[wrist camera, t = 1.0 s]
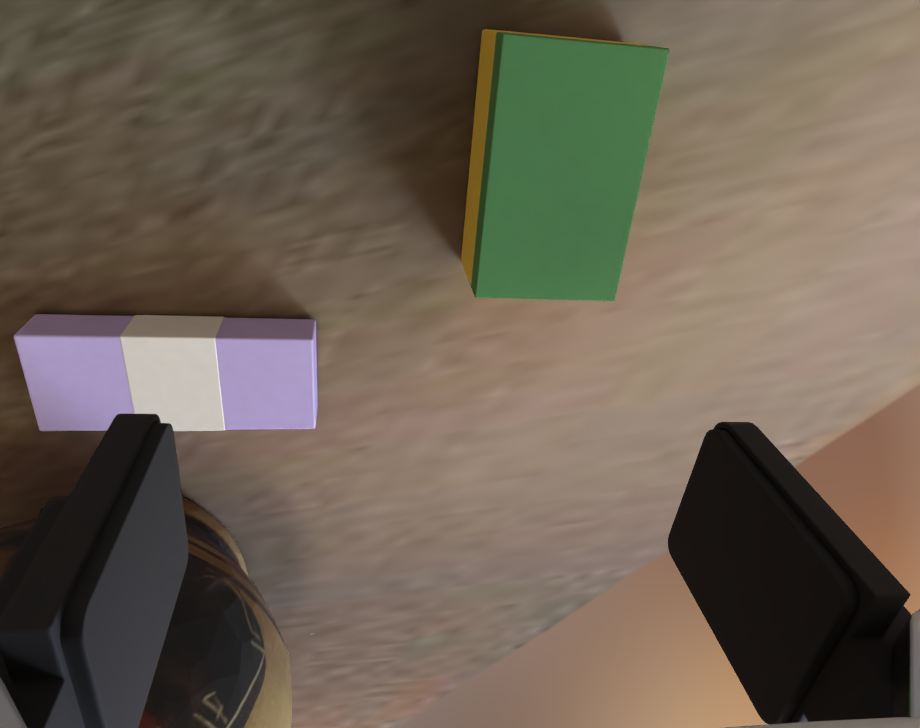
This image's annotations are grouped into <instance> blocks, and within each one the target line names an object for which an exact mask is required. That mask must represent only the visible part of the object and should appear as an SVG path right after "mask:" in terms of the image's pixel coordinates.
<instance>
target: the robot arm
mask: <svg viewBox="0 0 920 728" xmlns="http://www.w3.org/2000/svg"><path fill="white" fill-rule="evenodd" d="M668 548H669V552H670V555H671V557H672V559H673V560H674V562H675V564H676V566H677V568H678V570H679V571H680V573H681V575H682V577H683V579H684V580H685V582H686V584H687V586H688V588H689V589H690V591H691V593H692V595H693V597H694V598H695V600H696V602H697V604H698V606H699V607H700V609H701V611H702V613H703V615H704V617H705V618H706V620H707V622H708V624H709V626H710V627H711V629H712V631H713V633H714V634H715V636H716V638H717V640H718V642H719V644H720V646H721V647H722V649H723V651H724V653H725V654H726V656H727V658H728V660H729V661H730V664H731V665H732V667H733V669H734V671H735V673H736V674H737V676H738V678H739V680H740V682H741V683H742V685H743V687H744V689H745V691H746V692H747V694H748V696H749V698H750V700H751V701H752V703H753V705H754V707H755V709H756V710H757V712H758V714H759V716H760V717H761V719H762V720H763V721H764V722H765V723H767V724H769V725H756V726H741V727H727V728H920V609H919V610H918V611H916V612H915V613H913V614H912V615H911V614H910V613H909V612H908V611H907V609H906V608H905V607H904V606H903V605H904V604H905V602H906V601H907V599H908V598H909V596H910V594H909V593H908V591H907V590H906V589H905V588H904V587H903V586H902V585H901V584H900V583H899V582H898V580H897V579H896V578H895V577H894V576H893V575H892V574H891V573H890V572H889V571H888V569H887V568H885V566H884V565H883V564H882V563H881V562H880V561H879V560H878V559H877V558H876V556H875V555H874V554H873V553H872V552H871V551H870V550H869V549H868V548H867V547H866V546H865V544H864V543H863V542H862V541H861V540H860V539H859V538H858V537H857V536H856V535H855V533H854V532H853V531H852V530H851V529H850V528H849V527H848V526H847V525H846V524H845V522H844V521H843V520H842V519H841V518H840V517H839V516H838V515H837V514H836V513H835V512H834V510H833V509H831V507H830V506H829V505H828V504H827V503H826V502H825V501H824V500H823V498H822V497H821V496H820V495H819V494H818V493H817V492H816V491H815V490H814V489H813V488H812V486H811V485H810V484H809V483H808V482H807V481H806V480H805V479H804V478H803V477H802V476H801V474H800V473H799V472H798V471H797V470H796V469H795V468H794V467H793V466H792V465H791V463H790V462H789V461H788V460H787V459H786V458H785V457H784V456H783V455H782V454H781V453H780V451H779V450H778V449H777V448H776V447H775V446H774V445H773V444H772V443H771V442H770V441H769V439H768V438H767V437H766V436H765V435H764V434H763V433H762V432H761V431H760V430H759V429H758V427H757V426H755V425H754V424H753V423H749V422H721V423H718V424H717V425H716V426H715V427H714V429H713V430H709V431H708V432H707V433H706V435H705V437H704V440H703V443H702V446H701V448H700V451H699V454H698V457H697V459H696V462H695V465H694V468H693V470H692V473H691V476H690V479H689V481H688V484H687V487H686V490H685V492H684V495H683V498H682V501H681V503H680V506H679V509H678V512H677V514H676V517H675V520H674V523H673V525H672V528H671V531H670V534H669V537H668ZM187 561H188V539H187V531H186V524H185V516H184V508H183V501H182V493H181V486H180V478H179V470H178V463H177V455H176V448H175V440H174V433H173V427H172V425H171V424H170V423H161V421H160V418H159V416H158V415H157V414H117V415H116V417H115V418H114V420H113V421H112V423H111V425H110V427H109V428H108V430H107V432H106V434H105V435H104V437H103V439H102V441H101V442H100V444H99V446H98V447H97V449H96V451H95V453H94V454H93V456H92V458H91V460H90V461H89V463H88V465H87V467H86V468H85V470H84V472H83V474H82V475H81V477H80V479H79V481H78V482H77V484H76V486H75V488H74V489H73V491H72V493H71V495H70V496H69V497H55V498H53V499H52V500H50V501H49V502H48V503H47V505H46V506H45V507H44V508H43V510H42V512H41V513H40V515H39V517H38V518H37V520H36V521H35V523H34V525H33V526H32V528H31V530H30V531H29V533H28V535H27V536H26V538H25V539H24V541H23V543H22V544H21V546H20V548H19V549H18V551H17V553H16V554H15V556H14V558H13V559H12V561H11V562H10V564H9V566H8V567H7V569H6V571H5V572H4V574H3V576H2V577H1V579H0V728H138V727H139V723H140V720H141V717H142V713H143V710H144V707H145V703H146V700H147V697H148V693H149V690H150V687H151V683H152V680H153V677H154V673H155V670H156V667H157V663H158V660H159V657H160V653H161V650H162V647H163V643H164V640H165V637H166V633H167V630H168V627H169V623H170V620H171V617H172V613H173V610H174V607H175V603H176V600H177V597H178V593H179V590H180V587H181V583H182V580H183V577H184V573H185V570H186V566H187Z"/></svg>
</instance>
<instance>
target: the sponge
mask: <svg viewBox="0 0 920 728" xmlns="http://www.w3.org/2000/svg"><path fill="white" fill-rule="evenodd" d="M668 54H669V49H668V48H661V47H653V46H647V45H640V44H633V43H626V42H617V41H606V40H596V39H585V38H574V37H564V36H553V35H543V34H532V33H522V32H511V31H501V30H490V29H483V31H482V37H481V47H480V58H479V69H478V80H477V91H476V102H475V113H474V124H473V135H472V146H471V157H470V168H469V179H468V190H467V201H466V212H465V223H464V234H463V245H462V256H461V262H462V265H463V267H464V270H465V272H466V275H467V277H468V280H469V282H470V284H471V288H472V291H473V293H474V295H475V297H476V298H509V299H549V300H589V301H615V297H616V292H617V288H618V283H619V278H620V274H621V269H622V265H623V260H624V256H625V251H626V246H627V242H628V237H629V233H630V228H631V224H632V219H633V214H634V210H635V205H636V201H637V196H638V192H639V187H640V182H641V178H642V173H643V169H644V164H645V160H646V155H647V150H648V146H649V141H650V137H651V132H652V128H653V123H654V118H655V114H656V109H657V105H658V100H659V96H660V91H661V86H662V82H663V77H664V73H665V68H666V64H667V59H668Z"/></svg>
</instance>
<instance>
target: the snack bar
mask: <svg viewBox="0 0 920 728" xmlns="http://www.w3.org/2000/svg"><path fill="white" fill-rule="evenodd" d="M14 340H15V344H16V347H17V351H18V355H19V358H20V362H21V365H22V369H23V373H24V376H25V380H26V384H27V387H28V391H29V394H30V398H31V402H32V405H33V409H34V412H35V416H36V420H37V423H38V427H39V430H40V431H107V430H108V428H109V427H110V425H111V423H112V421H113V420H114V418H115V417H116V415H117V414H157V415H158V416H159V418H160V421H161V423H170V424H171V425H172V427H173V431H224V430H231V429H314V428H315V427H316V417H317V407H318V395H317V354H316V321H315V320H314V319H270V318H224V317H218V316H165V315H135V316H110V315H57V314H36V315H34V316H33V317H32V318H31V319H30V320H29V321H28V322H27V323H26V324H25V325H24V326H23V327H22V328H21V329H20V330H19V331H17V332H16V333H15V334H14Z"/></svg>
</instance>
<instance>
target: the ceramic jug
mask: <svg viewBox="0 0 920 728" xmlns="http://www.w3.org/2000/svg"><path fill="white" fill-rule="evenodd" d="M182 501H183V508H184V516H185V524H186V531H187V539H188V561H187V566H186V570H185V573H184V577H183V580H182V583H181V587H180V590H179V593H178V597H177V600H176V603H175V607H174V610H173V613H172V617H171V620H170V623H169V627H168V630H167V633H166V637H165V640H164V643H163V647H162V650H161V653H160V657H159V660H158V663H157V667H156V670H155V673H154V677H153V680H152V683H151V687H150V690H149V693H148V697H147V700H146V703H145V707H144V710H143V713H142V717H141V720H140V723H139V727H138V728H291V721H292V690H291V673H290V658H289V654H288V650H287V647H286V645H285V643H284V640H283V638H282V636H281V634H280V632H279V630H278V627H277V625H276V622H275V620H274V618H273V616H272V614H271V612H270V610H269V608H268V606H267V604H266V603H265V601H264V599H263V598H262V596H261V594H260V592H259V591H258V589H257V588H256V586H255V584H254V583H253V582H252V580H251V579H250V578H249V575H248V572H247V568H246V565H245V562H244V560H243V557H242V554H241V552H240V550H239V547H238V545H237V543H236V541H235V539H234V537H233V536H232V535H231V533H230V532H229V530H228V529H227V528H226V527H225V526H223V525H222V524H221V523H219V522H218V521H217V520H216V519H214V518H213V517H212V516H211V515H209V514H208V513H207V512H205V511H204V510H203V509H202V508H200V507H199V506H198V505H196V504H194V503H192V502H190V501H189V500H187V499H185V498H183V497H182ZM42 510H43V509H41V512H42ZM41 512H40V513H41ZM36 520H37V519H34V520H30V521H26V522H22V523H18V524H14V525H11V526H8V527H5V528H1V529H0V579H1V577H2V576H3V574H4V572H5V571H6V569H7V567H8V566H9V564H10V562H11V561H12V559H13V558H14V556H15V554H16V553H17V551H18V549H19V548H20V546H21V544H22V543H23V541H24V539H25V538H26V536H27V535H28V533H29V531H30V530H31V528H32V526H33V525H34V523H35V521H36ZM312 634H315V633H311V635H312Z"/></svg>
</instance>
